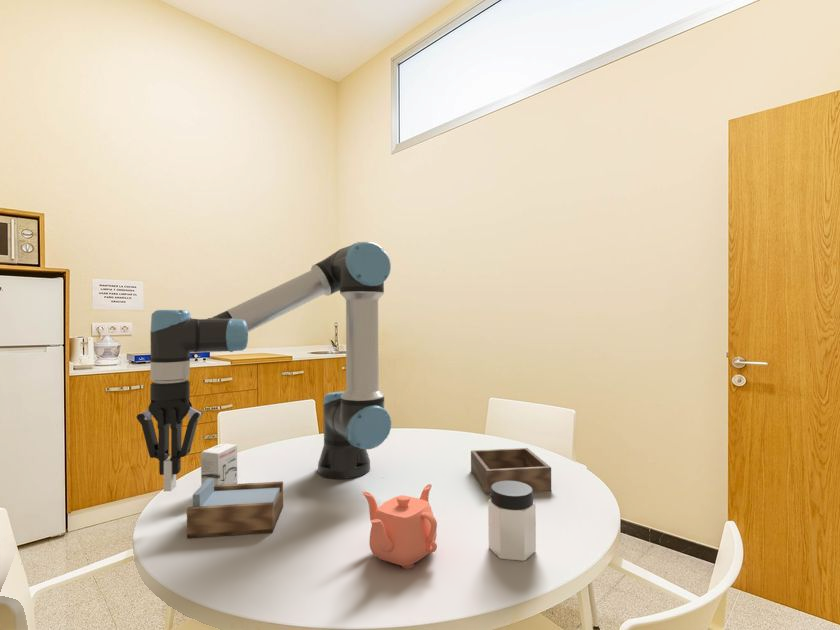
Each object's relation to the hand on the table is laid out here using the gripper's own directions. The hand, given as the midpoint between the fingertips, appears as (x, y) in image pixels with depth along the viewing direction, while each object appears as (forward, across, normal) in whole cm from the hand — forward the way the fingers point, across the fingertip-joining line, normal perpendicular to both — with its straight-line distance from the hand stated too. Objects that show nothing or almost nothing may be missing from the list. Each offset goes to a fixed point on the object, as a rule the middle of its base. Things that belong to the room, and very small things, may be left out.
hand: (169, 488), depth 99 cm
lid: (+4, -14, 0) cm, 15 cm away
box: (+8, -14, 0) cm, 16 cm away
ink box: (+8, -5, -17) cm, 20 cm away
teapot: (+8, -48, +18) cm, 52 cm away
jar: (+8, -70, +20) cm, 74 cm away
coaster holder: (+7, -81, -15) cm, 83 cm away
